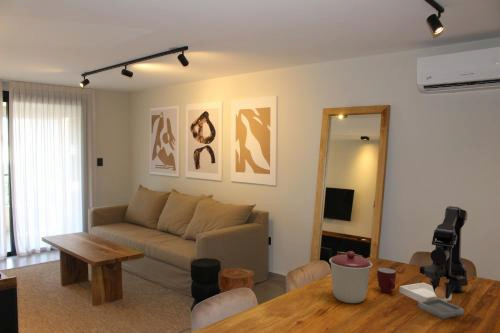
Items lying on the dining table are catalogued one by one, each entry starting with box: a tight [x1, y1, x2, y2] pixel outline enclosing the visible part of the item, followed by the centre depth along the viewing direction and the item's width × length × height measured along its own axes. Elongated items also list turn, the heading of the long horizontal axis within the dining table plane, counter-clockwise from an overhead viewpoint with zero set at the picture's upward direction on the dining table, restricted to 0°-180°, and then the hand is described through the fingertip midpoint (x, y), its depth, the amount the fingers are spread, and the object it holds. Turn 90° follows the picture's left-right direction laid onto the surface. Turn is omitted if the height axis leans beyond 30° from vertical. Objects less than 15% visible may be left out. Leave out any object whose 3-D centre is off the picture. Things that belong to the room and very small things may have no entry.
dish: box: [398, 282, 453, 302], centre depth 175 cm, size 15×15×3 cm
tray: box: [417, 298, 465, 320], centre depth 159 cm, size 12×12×2 cm
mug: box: [376, 267, 397, 294], centre depth 178 cm, size 10×8×10 cm
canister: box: [329, 250, 373, 304], centre depth 169 cm, size 18×18×21 cm
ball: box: [435, 285, 446, 299], centre depth 159 cm, size 5×5×5 cm
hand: (441, 296), depth 159 cm, fingers closed on ball, 5 cm apart
